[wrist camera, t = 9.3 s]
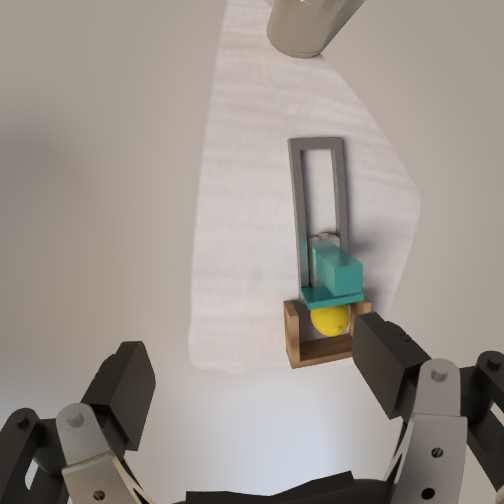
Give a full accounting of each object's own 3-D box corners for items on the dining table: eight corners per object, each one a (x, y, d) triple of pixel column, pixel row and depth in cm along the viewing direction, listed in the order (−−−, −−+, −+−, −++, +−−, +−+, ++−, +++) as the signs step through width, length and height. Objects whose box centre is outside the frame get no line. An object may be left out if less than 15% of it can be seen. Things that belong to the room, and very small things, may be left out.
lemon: (333, 279, 42) (352, 306, 34) (341, 307, 44) (360, 335, 36) (300, 294, 42) (314, 324, 35) (310, 321, 44) (324, 352, 37)
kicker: (294, 235, 40) (314, 255, 30) (346, 229, 40) (379, 246, 30) (297, 290, 42) (316, 323, 32) (346, 283, 42) (375, 312, 32)
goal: (283, 301, 43) (289, 316, 38) (358, 289, 43) (371, 302, 38) (286, 351, 45) (292, 368, 40) (354, 337, 46) (366, 353, 41)
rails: (287, 140, 36) (289, 138, 35) (337, 138, 37) (341, 137, 35) (299, 299, 43) (301, 303, 41) (344, 292, 43) (347, 296, 42)
